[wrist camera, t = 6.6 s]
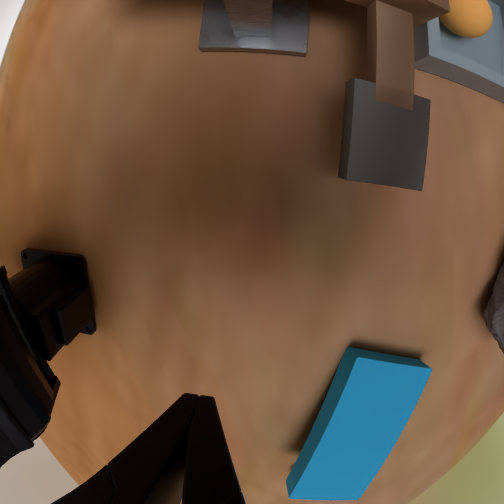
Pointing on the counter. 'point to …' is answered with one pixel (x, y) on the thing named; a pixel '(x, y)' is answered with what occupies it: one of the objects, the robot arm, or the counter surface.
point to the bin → (464, 54)
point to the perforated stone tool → (496, 310)
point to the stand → (255, 26)
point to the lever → (388, 99)
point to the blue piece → (357, 425)
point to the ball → (468, 18)
